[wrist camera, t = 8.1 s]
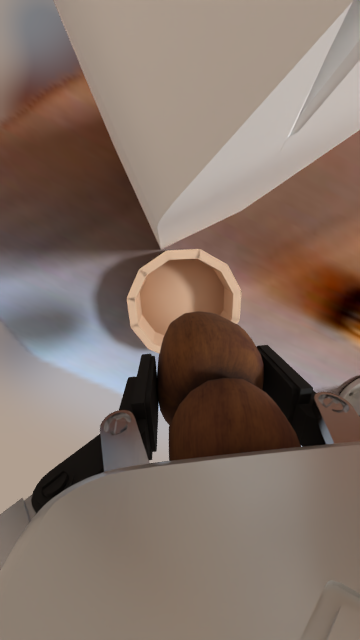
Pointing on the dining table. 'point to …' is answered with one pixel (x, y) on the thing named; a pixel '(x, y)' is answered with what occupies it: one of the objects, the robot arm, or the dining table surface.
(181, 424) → the wooden figurine
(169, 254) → the pot
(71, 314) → the dining table surface
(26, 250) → the dining table surface
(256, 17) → the milk
